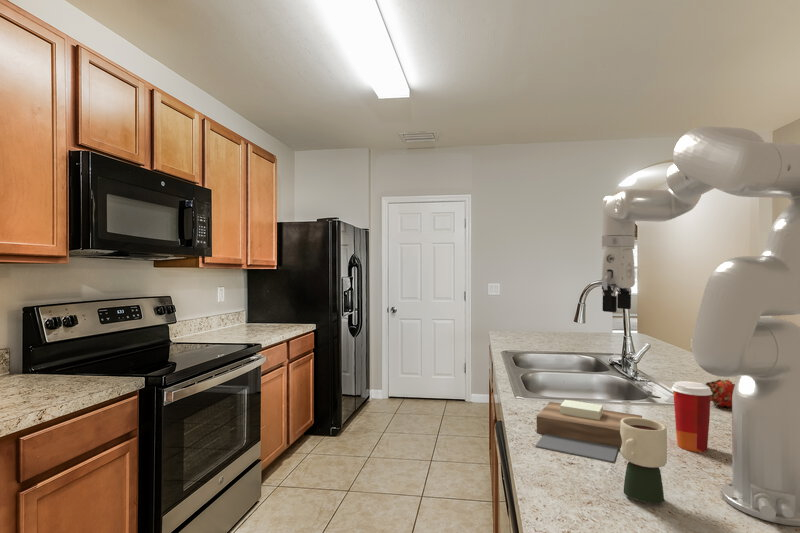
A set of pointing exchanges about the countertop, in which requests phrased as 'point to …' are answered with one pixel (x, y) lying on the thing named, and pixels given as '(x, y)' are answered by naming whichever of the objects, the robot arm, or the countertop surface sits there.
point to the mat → (578, 447)
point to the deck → (582, 425)
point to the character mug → (644, 458)
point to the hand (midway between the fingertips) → (616, 310)
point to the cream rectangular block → (581, 409)
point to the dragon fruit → (721, 392)
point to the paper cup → (692, 415)
